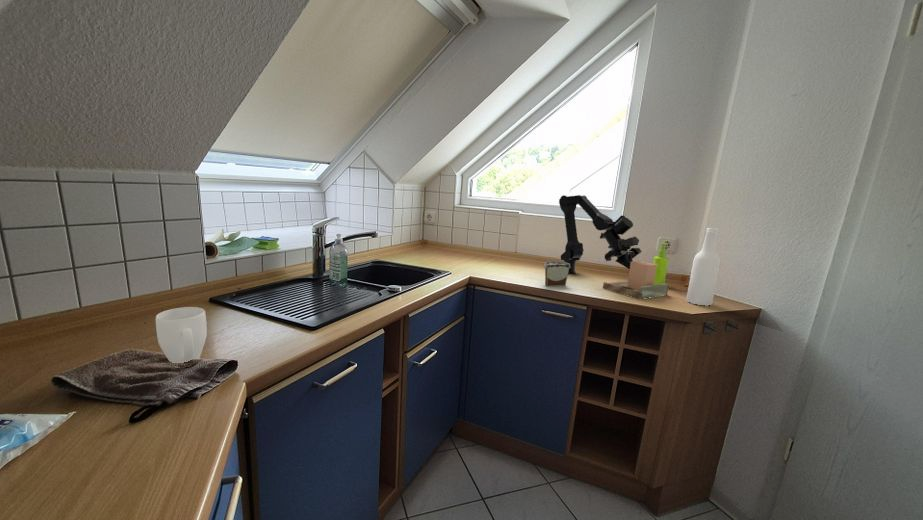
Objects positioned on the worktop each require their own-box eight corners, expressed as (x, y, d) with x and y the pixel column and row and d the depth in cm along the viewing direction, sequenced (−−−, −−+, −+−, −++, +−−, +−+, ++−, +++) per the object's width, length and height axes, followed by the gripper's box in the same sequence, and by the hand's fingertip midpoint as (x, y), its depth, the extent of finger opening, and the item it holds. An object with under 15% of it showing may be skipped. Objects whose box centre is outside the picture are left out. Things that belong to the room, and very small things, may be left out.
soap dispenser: (666, 285, 177) (673, 243, 173) (661, 287, 172) (669, 244, 168) (652, 282, 181) (659, 241, 177) (648, 284, 176) (655, 242, 172)
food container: (560, 282, 171) (563, 260, 169) (568, 285, 165) (571, 263, 163) (536, 282, 167) (538, 260, 165) (543, 286, 161) (546, 263, 159)
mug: (158, 362, 80) (153, 311, 77) (205, 352, 85) (201, 304, 83) (165, 386, 71) (159, 329, 69) (216, 373, 77) (212, 320, 75)
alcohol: (710, 302, 151) (725, 228, 145) (712, 308, 144) (728, 230, 138) (685, 298, 155) (698, 226, 149) (686, 303, 148) (700, 227, 142)
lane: (602, 288, 164) (604, 277, 163) (629, 284, 174) (630, 273, 173) (640, 299, 149) (642, 287, 148) (666, 295, 159) (668, 283, 158)
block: (627, 286, 161) (630, 261, 159) (635, 285, 164) (639, 260, 162) (644, 291, 154) (648, 265, 152) (652, 290, 158) (657, 264, 155)
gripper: (613, 230, 158) (633, 261, 151) (640, 229, 168) (660, 258, 161) (596, 245, 166) (614, 275, 159) (622, 244, 176) (640, 272, 169)
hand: (633, 270), depth 162 cm, fingers closed, pressing on block
